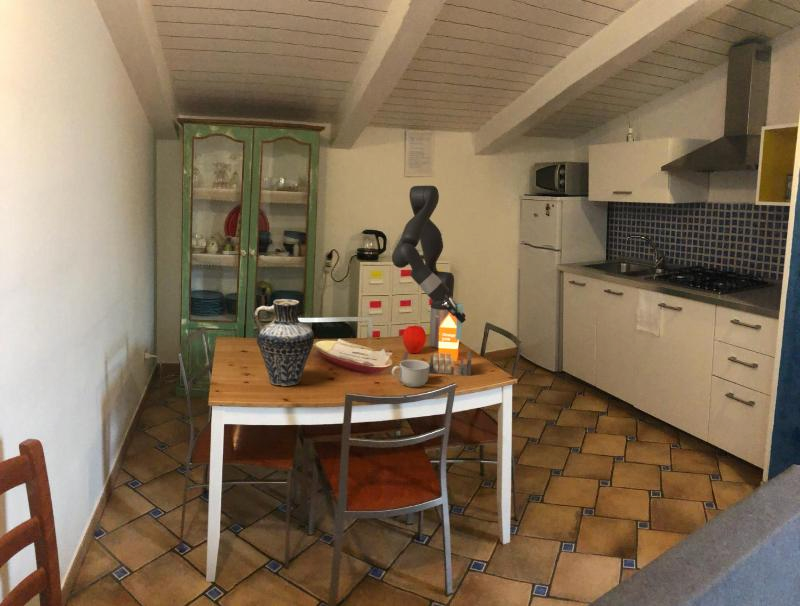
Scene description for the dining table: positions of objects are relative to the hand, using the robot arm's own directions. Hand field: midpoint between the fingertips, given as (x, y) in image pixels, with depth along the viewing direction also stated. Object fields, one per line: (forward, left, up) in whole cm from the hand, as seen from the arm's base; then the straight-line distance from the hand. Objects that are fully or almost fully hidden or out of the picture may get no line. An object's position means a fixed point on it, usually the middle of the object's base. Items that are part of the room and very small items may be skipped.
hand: (463, 319), depth 254 cm
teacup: (+26, -5, -21) cm, 34 cm away
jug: (+55, -39, -21) cm, 71 cm away
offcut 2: (+4, -6, -20) cm, 21 cm away
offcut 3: (+3, -4, -20) cm, 21 cm away
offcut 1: (+5, -8, -20) cm, 22 cm away
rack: (+5, -8, -21) cm, 23 cm away
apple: (-11, -31, -21) cm, 39 cm away
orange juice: (-12, -14, -21) cm, 28 cm away
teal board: (+1, -1, -7) cm, 8 cm away
